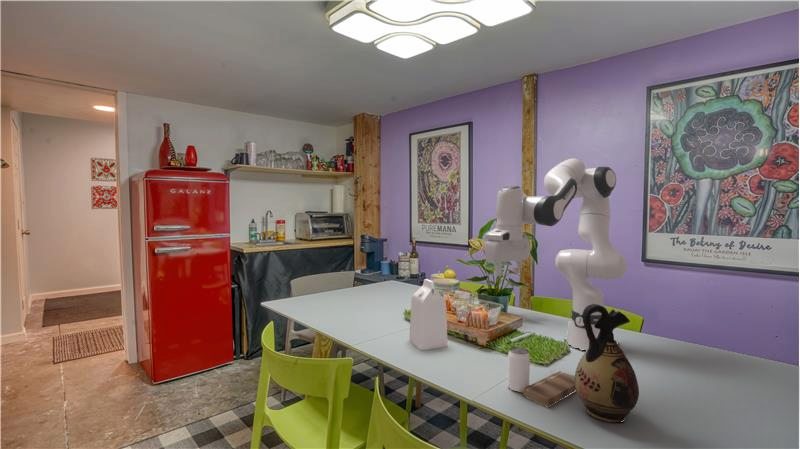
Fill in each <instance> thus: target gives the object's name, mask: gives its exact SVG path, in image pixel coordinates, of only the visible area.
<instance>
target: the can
mask: <svg viewBox="0 0 800 449" xmlns="http://www.w3.org/2000/svg"><path fill="white" fill-rule="evenodd" d="M530 362H531V356H530V354H529V349H527V348H524V347H521V346H511V347H510V348H509V351H508V354H507V377H506V378H507V379H506V380H507V383H506V384H507V387H508V389H509V388H510V389H511V391H512V390H514V391H518V392H517V393H519V392H523V388H525V387H528V386H530V370H531V366H530V365H531V363H530ZM510 389H509V390H510ZM514 391H513V392H514Z"/></svg>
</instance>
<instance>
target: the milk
mask: <svg viewBox="0 0 800 449" xmlns="http://www.w3.org/2000/svg"><path fill="white" fill-rule="evenodd" d="M410 302H411V303H410V304H411V305H410V320H409V338H408V339H409V341H410V342H411V343H412V344H413V345H414V346H415V347H416V348H418V349H419V350H420V351H427V350H434V349H442V348H447V347H448V326H447V325H448V322H447V301H446V299H445V297H444V296H442V294H440V293H439V292H438V291H437V289H435V283H434V280H430V279H428V278H424V279H423V283H422V286H420V287H419V288H418V290H416V292H414V293H413V295H412V297H411V301H410Z"/></svg>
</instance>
